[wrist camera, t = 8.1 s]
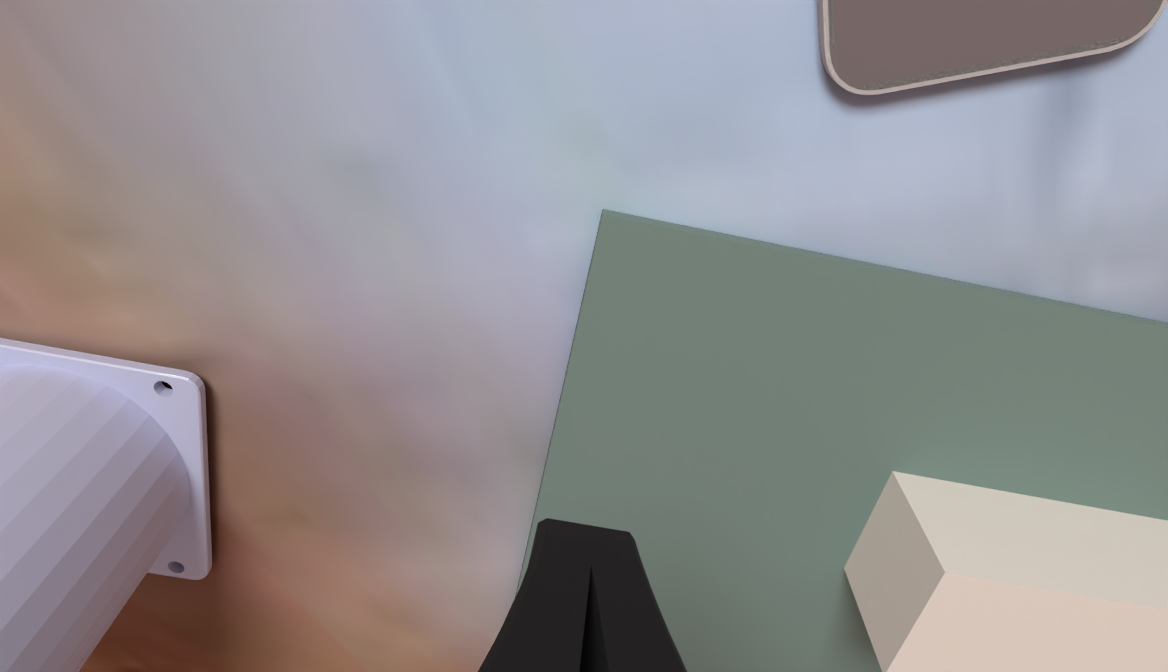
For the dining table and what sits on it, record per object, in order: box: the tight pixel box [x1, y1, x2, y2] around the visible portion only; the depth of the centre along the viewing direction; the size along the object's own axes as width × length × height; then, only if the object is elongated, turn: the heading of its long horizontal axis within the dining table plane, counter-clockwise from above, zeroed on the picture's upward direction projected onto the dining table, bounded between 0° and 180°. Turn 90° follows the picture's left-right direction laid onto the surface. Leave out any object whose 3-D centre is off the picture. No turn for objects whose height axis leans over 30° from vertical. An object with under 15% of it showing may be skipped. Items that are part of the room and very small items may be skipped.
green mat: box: [515, 209, 1168, 672], centre depth 24 cm, size 22×16×1 cm
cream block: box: [844, 471, 1168, 672], centre depth 22 cm, size 4×4×10 cm
